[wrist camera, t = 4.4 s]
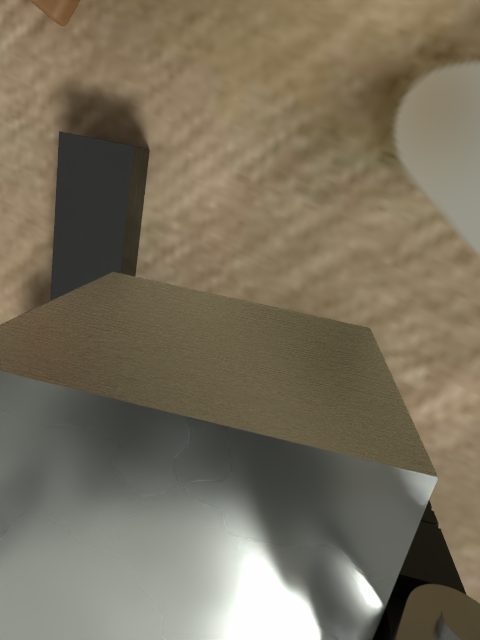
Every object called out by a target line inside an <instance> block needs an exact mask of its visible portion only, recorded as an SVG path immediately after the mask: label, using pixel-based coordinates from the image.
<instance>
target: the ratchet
mask: <svg viewBox="0 0 480 640" xmlns="http://www.w3.org/2000/svg"><path fill="white" fill-rule="evenodd" d="M148 159H149V150H148V149H144V148H140V147H136V146H131V145H126V144H121V143H116V142H111V141H106V140H101V139H95V138H90V137H85V136H80V135H75V134H70V133H65V132H60V131H59V148H58V167H57V187H56V206H55V226H54V245H53V265H52V284H51V301H52V300H54V299H56V298H58V297H60V296H63V295H65V294H67V293H69V292H71V291H73V290H75V289H78V288H80V287H82V286H84V285H86V284H88V283H90V282H93V281H95V280H97V279H99V278H101V277H103V276H105V275H107V274H110V273H112V272H116V273H121V274H125V275H130V276H134V277H135V274H136V265H137V256H138V248H139V239H140V230H141V221H142V212H143V203H144V195H145V186H146V177H147V168H148Z"/></svg>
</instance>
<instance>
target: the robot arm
mask: <svg viewBox="0 0 480 640" xmlns="http://www.w3.org/2000/svg"><path fill="white" fill-rule="evenodd" d="M431 508H432V506H431V504H430V501H428V504H427V506H426V508H425V511H424V513H423V516H422V518H421V521H420V523H419V526H418V528H417V531H416V533H415V536H414V538H413V541H412V543H411V546H410V548H409V550H408V553H407V555H406V558H405V560H404V563H403V565H402V568H401V570H400V573H399V575H398V578H397V580H396V583H395V585H394V588H393V590H392V592H391V595H390V597H389V600H388V602H387V605H386V607H385V610H384V612H383V615H382V617H381V620H380V622H379V625H378V627H377V629H376V632H375V634H374V637H373V639H372V640H480V604H479V603H478V602H477V601H475V600H474V599H472V598H471V597H469V596H467V595H466V592H465V590H464V587H463V585H462V582H461V580H460V577H459V575H458V572H457V570H456V567H455V564H454V562H453V559H452V557H451V554H450V552H449V549H448V547H447V544H446V542H445V539H444V537H443V534H442V532H441V529H439V528H438V525H439V524H438V521H437V519H436V516H435V514H434V511H431Z"/></svg>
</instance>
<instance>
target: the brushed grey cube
mask: <svg viewBox="0 0 480 640" xmlns="http://www.w3.org/2000/svg"><path fill="white" fill-rule="evenodd" d="M437 479H438V476H437V474H436V471H435V469H434V467H433V465H432V463H431V461H430V458H429V456H428V454H427V452H426V450H425V447H424V445H423V443H422V441H421V439H420V436H419V434H418V432H417V430H416V428H415V426H414V423H413V421H412V419H411V417H410V415H409V412H408V410H407V408H406V406H405V404H404V402H403V399H402V397H401V395H400V393H399V391H398V388H397V386H396V384H395V382H394V380H393V377H392V375H391V373H390V371H389V369H388V367H387V364H386V362H385V360H384V358H383V356H382V353H381V351H380V349H379V347H378V345H377V342H376V340H375V338H374V336H373V334H372V332H371V329H370V328H367V327H363V326H358V325H353V324H349V323H344V322H340V321H335V320H331V319H326V318H321V317H317V316H312V315H308V314H303V313H299V312H294V311H290V310H285V309H280V308H276V307H271V306H267V305H262V304H258V303H253V302H248V301H244V300H239V299H235V298H230V297H226V296H221V295H217V294H212V293H207V292H203V291H198V290H194V289H189V288H185V287H180V286H175V285H171V284H166V283H162V282H157V281H153V280H148V279H143V278H139V277H134V276H130V275H125V274H121V273H116V272H112V273H110V274H107V275H105V276H103V277H101V278H99V279H97V280H95V281H93V282H90V283H88V284H86V285H84V286H82V287H80V288H78V289H75V290H73V291H71V292H69V293H67V294H65V295H63V296H60V297H58V298H56V299H54V300H52V301H50V302H48V303H45V304H43V305H41V306H39V307H37V308H35V309H33V310H30V311H28V312H26V313H24V314H22V315H20V316H18V317H15V318H13V319H11V320H9V321H7V322H5V323H3V324H1V325H0V640H372V639H373V637H374V634H375V632H376V629H377V627H378V625H379V622H380V620H381V617H382V615H383V612H384V610H385V607H386V605H387V602H388V600H389V597H390V595H391V592H392V590H393V588H394V585H395V583H396V580H397V578H398V575H399V573H400V570H401V568H402V565H403V563H404V560H405V558H406V555H407V553H408V550H409V548H410V546H411V543H412V541H413V538H414V536H415V533H416V531H417V528H418V526H419V523H420V521H421V518H422V516H423V513H424V511H425V508H426V506H427V504H428V501H429V499H430V496H431V494H432V491H433V489H434V486H435V484H436V481H437Z"/></svg>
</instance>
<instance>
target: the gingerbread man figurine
mask: <svg viewBox="0 0 480 640" xmlns="http://www.w3.org/2000/svg"><path fill="white" fill-rule="evenodd" d="M30 1H31V2H32V3H33V4H35V5H36V6H37V7H38V8H39V9H40V10H42V11H43V12H44V13H45V14H46V15H47V16H48V17H50V18H51V19H52V20H53V21H55V22H56V23H58V24H59V25H61V26H65V25H66V24H67V23H68V21H69V20H70V18H71V16H72V14H73V12H74V10H75V9H76V7H77V5H78V3H79V1H80V0H30Z"/></svg>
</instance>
